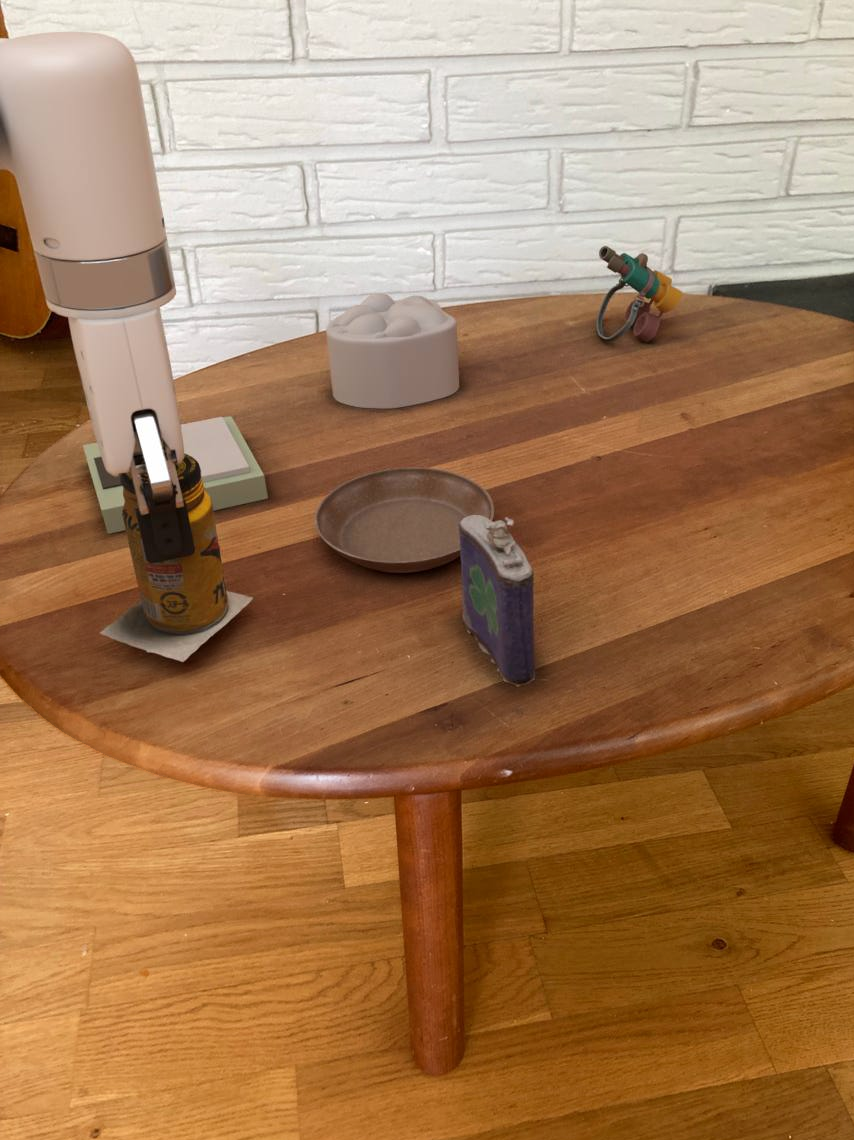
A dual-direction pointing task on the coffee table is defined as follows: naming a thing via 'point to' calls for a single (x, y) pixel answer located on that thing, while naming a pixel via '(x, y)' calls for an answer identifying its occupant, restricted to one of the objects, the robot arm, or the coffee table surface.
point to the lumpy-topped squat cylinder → (393, 353)
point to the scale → (220, 460)
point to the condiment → (176, 578)
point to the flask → (498, 596)
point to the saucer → (400, 518)
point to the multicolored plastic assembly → (647, 286)
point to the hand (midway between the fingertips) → (161, 530)
